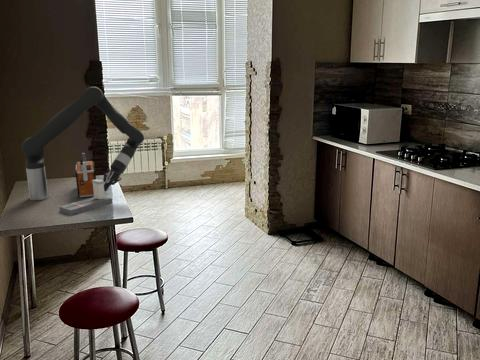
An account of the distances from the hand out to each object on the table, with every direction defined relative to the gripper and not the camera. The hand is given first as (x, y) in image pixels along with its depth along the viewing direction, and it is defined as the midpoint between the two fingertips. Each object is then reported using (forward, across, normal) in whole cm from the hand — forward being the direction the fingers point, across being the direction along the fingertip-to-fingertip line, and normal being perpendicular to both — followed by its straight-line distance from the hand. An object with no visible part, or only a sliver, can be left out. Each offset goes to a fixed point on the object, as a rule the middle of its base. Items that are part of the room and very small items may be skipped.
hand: (103, 190), depth 238 cm
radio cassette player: (0, -25, +9) cm, 27 cm away
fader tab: (+5, 0, 0) cm, 5 cm away
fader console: (+12, 0, -3) cm, 13 cm away
